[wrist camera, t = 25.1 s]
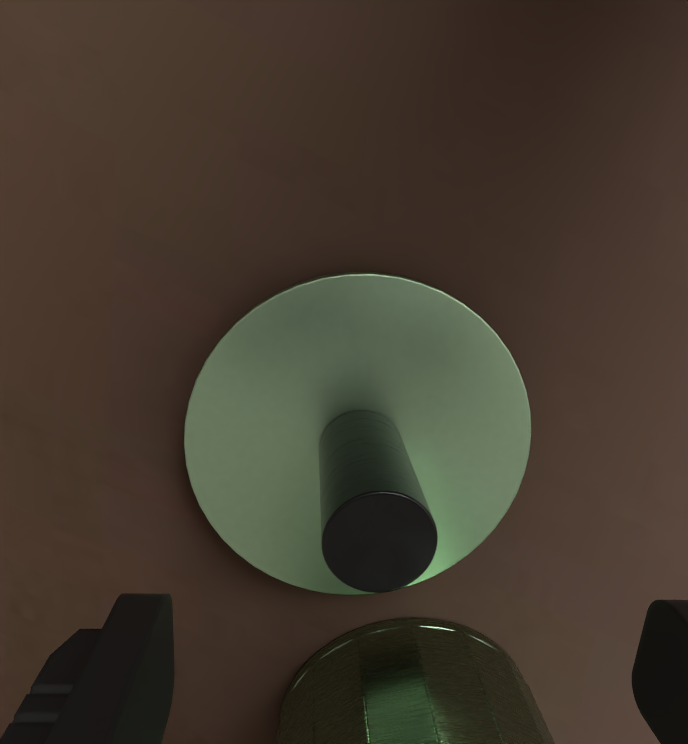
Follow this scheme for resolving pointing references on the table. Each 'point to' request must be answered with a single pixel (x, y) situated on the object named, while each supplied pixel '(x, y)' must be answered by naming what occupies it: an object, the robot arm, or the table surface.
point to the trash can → (411, 690)
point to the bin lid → (357, 433)
